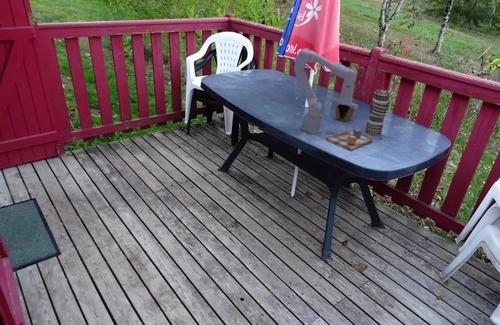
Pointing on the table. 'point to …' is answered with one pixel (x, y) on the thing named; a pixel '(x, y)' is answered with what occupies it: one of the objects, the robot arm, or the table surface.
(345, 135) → the console
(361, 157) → the table surface
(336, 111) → the flower pot
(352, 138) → the fader
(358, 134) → the fader
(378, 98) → the banded round tower
